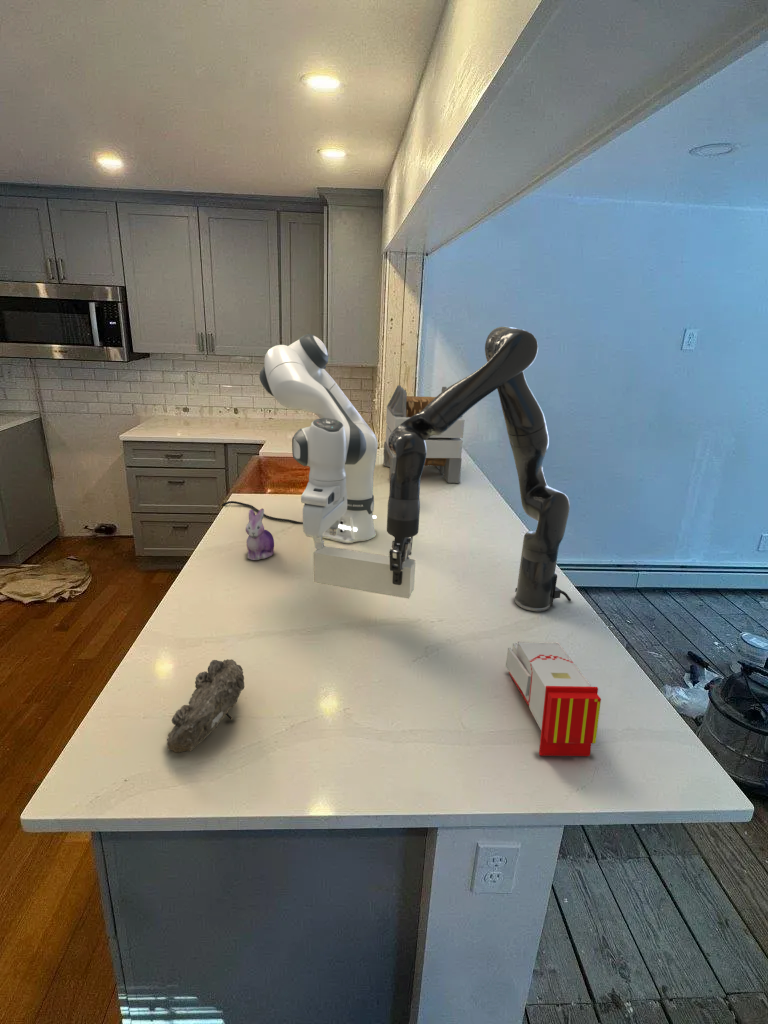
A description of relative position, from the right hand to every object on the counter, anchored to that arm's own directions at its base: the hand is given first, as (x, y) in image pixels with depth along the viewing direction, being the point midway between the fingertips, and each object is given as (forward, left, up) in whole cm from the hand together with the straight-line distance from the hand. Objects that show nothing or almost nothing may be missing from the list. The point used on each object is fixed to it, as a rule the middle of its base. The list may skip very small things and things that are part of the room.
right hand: (400, 578), depth 138 cm
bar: (+8, -6, -4) cm, 10 cm away
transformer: (-61, -127, -13) cm, 142 cm away
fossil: (+46, +21, -13) cm, 53 cm away
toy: (-17, +38, -13) cm, 43 cm away
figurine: (+27, -51, -13) cm, 58 cm away
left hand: (+16, -11, +7) cm, 20 cm away
